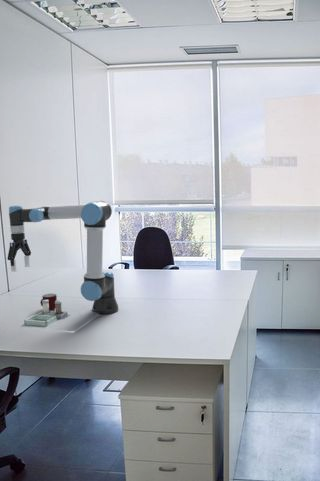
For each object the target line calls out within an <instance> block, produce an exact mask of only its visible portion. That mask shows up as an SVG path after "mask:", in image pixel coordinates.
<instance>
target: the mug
mask: <svg viewBox="0 0 320 481" xmlns="http://www.w3.org/2000/svg"><path fill="white" fill-rule="evenodd" d="M42 300H49V311H56V307H55V301H57V300H58V298H57V294H56V293H45V294H42V298H41V300H40V305H41V307H43V303H42Z"/></svg>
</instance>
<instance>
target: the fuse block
mask: <svg viewBox="0 0 320 481" xmlns="http://www.w3.org/2000/svg"><path fill="white" fill-rule="evenodd" d="M37 315H51V316H57V320H65V319H67V318H68V317H69V316H71V314H69V313H68V311H62V314H61V315H58V314H56V310H54V311H49V314H43V310H42V311H40V312H38V313H37Z"/></svg>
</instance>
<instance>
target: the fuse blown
mask: <svg viewBox="0 0 320 481" xmlns="http://www.w3.org/2000/svg"><path fill="white" fill-rule="evenodd" d="M55 307H56V308H55V312H56V314H58V315H61V314H62V300H60V299H59V300H58V299H57V301H55Z"/></svg>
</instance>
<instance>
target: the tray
mask: <svg viewBox="0 0 320 481" xmlns="http://www.w3.org/2000/svg"><path fill="white" fill-rule="evenodd" d="M56 321H58V319H57V316H51V315H38V314H33V315H31V316H30V317H28V318H26V319H24V321H23V323H24V325H26V326H41V327H48V326H49V325H51V324H53V323H54V322H56Z"/></svg>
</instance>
